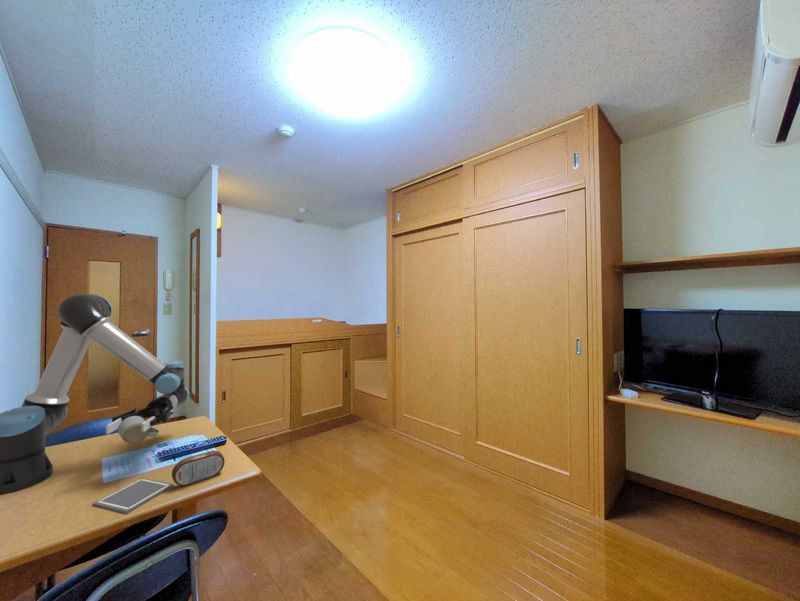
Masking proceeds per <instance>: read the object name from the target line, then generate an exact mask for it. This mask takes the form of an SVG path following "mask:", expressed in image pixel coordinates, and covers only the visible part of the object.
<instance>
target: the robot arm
mask: <svg viewBox="0 0 800 601" xmlns="http://www.w3.org/2000/svg"><path fill="white" fill-rule="evenodd" d="M112 313H113V306H112V304H111V303H110V301H109V300H107V299H106V298H105V297H103V296H101V295H98V294H93V293H92V294H90V293H89V294H81V293H79V294H73V295H70V296H67V297H66V298H64V299H62V301H61V302H60V303H59V304H58V307H57V316H58V317H59V319H60V320H61V321H60V322H59V323H60V324H59V326H60V327H61V329H62V332H61V334H60V336H59V339H58V341H57V343H56V344H55V347H54V350H53V351H52V353H51V356H50V358H49V359H48V362H47V364H46V367H45V368H44V371H43V373H42V375H41V377H40V379H39V382H38V384H37V386H36V388H35V390H34V392H33V393H30V394H28V395H26V396H25V398H24V401H23V402H22V404H21V406H20V407H15V408H12V409H10V410H5V411H3V412H1V413H0V495H3V493H4V494H8V492H9V493H13V492H16V491H19V490H20V491H21V490H24V489H27V488H30V487H32V486H34V485H36V484H39V483H41V482H43V481H45V480H47V479H48V478H49V477H51V476H52V475H53V473H54V467H53V464H52V461H51V460H50V459H49V456H48V455H47V453H46V435H48V434H49V433H50V432H52V431H53V430H54V429H56V428H57V427H60V425H61V424H62V423H63V422H64V420H65V418H66V417H67V414H68V408H67V407H68V405H69V402H70V400H71V399H70V397H69V396H68V392H69V390H70V387H71V385H72V383H73V381H74V378H75V376H76V374H77V372H78V370H79V367H80V366H81V363H82V361H83V358H84V357H85V354H86V353H87V350H88V347H89V346H90V343H91V341H92V340H93V341H94V342H96V343H97V344H99V345H100V346H102V347H103V348H104V349H105V350H107V351H108V352H109V353H111V355H114V357H116V358H118V359H119V360H120V361H122V362H123V363H124V364H126V365H127V366H128V367H130V368H131V369H133V371H135V372H136V373H138V374H139V375H140V376H141V377H143V378H144V379H146V380H147V381H149V382H150V383H151V384H152V385H154V388H155V389H156V391H157V392H158V393H160V394H161V395H160V396H158V397H156V398H154V399H153V400H151V401H149V402H148V404H147V405H146V406H145V407H144V408H140V409H138V408H133V409H131V410H130V411H127V412H124V413H121V414H119V415H116V416H114V417H112V418H111V422H110V423H109V424H107V425H105V435H109V434H111V433H112V432H114V431H116V430H118V427H119V425H120V423H121V422H122V421H123V420H124V419H126V418H128V417H131V416H140V417H142V418H143V419H144V420H145V419H147V420H145V422H144V423H142V432H144V431H146V430H147V429H149V428H150V427H151V428H153V426H155V425H157V424H160V423H161V422H162V423H167V422H168V420H169V419H170V417H171V416H172V415H173V414H174V413H175V412H174V410H175V409H176V408H178V407H179V406H181V405H183V404H184V403H185V402H187V400H188V398H189V397H190V391H189V389H188V388H187V387H186V386H185V376H184V375H185V371H184V369H185V367H184V362H183V361H181V360H173V361H172V360H171V361H166V362H162V361H161V359H159V358H157V357H156V356H155V355H154V354H152V353H151V352H150V351H148V350H147V349H146V348H144V347H143V345H141V344H140V343H138V342H137V341H136V340H134V339H133V338H132V337H130V336H129V335H128V334H126V332H124V331H123V330H122V329H120V328H119V327H117V326H116V325H115V324H114V323H113V322H111V321H110V319H111V318H110V317H111V315H112ZM51 474H52V475H51ZM50 475H51V476H50ZM46 478H47V479H46Z"/></svg>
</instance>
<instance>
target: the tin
mask: <svg viewBox="0 0 800 601" xmlns="http://www.w3.org/2000/svg"><path fill="white" fill-rule="evenodd" d="M225 462H226V461H225V458H224V455H223V453H222V452H220V451H218V450H210V451H207V452H203V453H199V454H195V455H192V456H188V457H185V458H183V459H181V460H179V461H178V462H177V463H175V465H174V467H173V468H172V471H171V478H172V480H173V482H174V484H176V485H177V486H180V487H181V486H182V487H183V486H185V487H187V486H189V485H192V484H195V483H198V482H201V481H204V480H208V479H211V478H213V477H216V476H217V475H218V474H219V473H220V472H222V470H223V468H224V466H225Z"/></svg>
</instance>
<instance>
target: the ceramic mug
mask: <svg viewBox="0 0 800 601" xmlns="http://www.w3.org/2000/svg"><path fill="white" fill-rule="evenodd" d="M142 417H143V416H142ZM142 417H140V416H131V417H128V418H126V419H124V420H123V421H122V422H121V423H120V425H119V427H118V429H117V432H118V435H119V436H120V438H121V439H122V440H123V441H124V442H125V443H127V444H131V445H134V444H138V443H140V442H143V441H144V440H146V438H147V437H148V438H149V437H153V438H154V437H157V436H158V435H159V432H160V431H159V429H157V428H154V427H150V428H149V429H147V430H146V431H144V432H142V423H144V422H145V421H146V420H145V418H144V419H143V418H142Z"/></svg>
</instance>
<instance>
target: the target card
mask: <svg viewBox="0 0 800 601" xmlns="http://www.w3.org/2000/svg"><path fill="white" fill-rule="evenodd" d="M174 487H175V483H170V482H165V481H160V480H154V479H152V478H151V479H150V478H146V477H145V478H144V477H141V478H138V479H137V480H134V481H132V482H131V483H129V484H126V485H125V486H123V487H121V488H118V489H117V490H115V491H113V492H111V493H110V494H108V495H105V496H104V497H102V498H100V499H97V500H96V501H94V502H93V503H91V505H92V506H94V507H99V508H101V507H102V509H106V510H109V509H110V511H112V512H113V511H114V512H118V513H122V514H124V515H125V514H126V515H128V514H129V513H131V512H132V511H134V510H136V509H138V508H140V507H141V506H143V505H144V504H146V503H148V502H149V500H150V501H151V500H153V499H155V498H156V497H158V496H159V495H158V494H160V493H161V494H163V493H164V491H165V492H166V491H168V490H170V489H172V488H174ZM169 488H170V489H169ZM167 489H168V490H167ZM162 492H163V493H162ZM161 494H160V495H161ZM157 495H158V496H157ZM155 496H156V497H155ZM154 497H155V498H154ZM152 498H153V499H152Z"/></svg>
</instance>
